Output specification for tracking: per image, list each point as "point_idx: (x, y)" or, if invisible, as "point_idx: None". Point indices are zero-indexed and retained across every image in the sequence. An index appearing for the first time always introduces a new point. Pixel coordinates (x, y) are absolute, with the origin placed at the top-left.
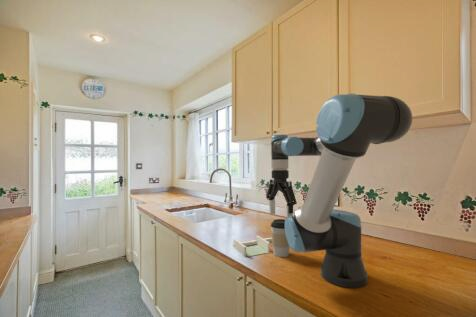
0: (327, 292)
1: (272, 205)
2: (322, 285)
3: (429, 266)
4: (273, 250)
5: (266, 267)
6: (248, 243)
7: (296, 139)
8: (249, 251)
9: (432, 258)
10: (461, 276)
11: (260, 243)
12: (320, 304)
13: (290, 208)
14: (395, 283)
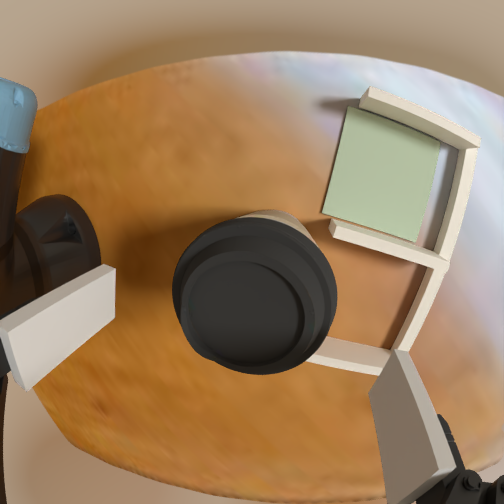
0: (46, 154)
1: (401, 437)
2: (61, 168)
3: (59, 399)
4: (293, 217)
5: (215, 98)
6: (449, 212)
7: None
8: (388, 151)
9: (80, 431)
10: None
11: (404, 243)
12: (40, 109)
13: (5, 315)
14: None
